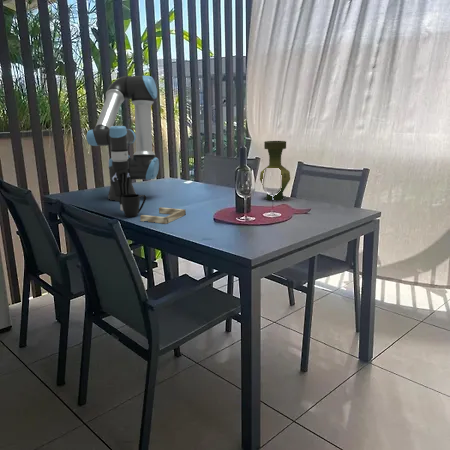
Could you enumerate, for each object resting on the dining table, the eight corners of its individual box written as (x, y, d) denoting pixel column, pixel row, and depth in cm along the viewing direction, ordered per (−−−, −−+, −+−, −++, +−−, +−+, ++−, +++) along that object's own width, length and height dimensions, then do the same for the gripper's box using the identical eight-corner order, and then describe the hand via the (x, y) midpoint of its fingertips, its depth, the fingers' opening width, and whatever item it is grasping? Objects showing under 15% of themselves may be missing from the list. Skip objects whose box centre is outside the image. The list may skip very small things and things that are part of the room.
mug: (150, 214, 210) (150, 195, 207) (127, 218, 203) (126, 198, 200) (141, 211, 216) (141, 191, 213) (119, 214, 209) (118, 195, 206)
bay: (140, 221, 198) (140, 215, 198) (160, 212, 213) (160, 207, 213) (166, 223, 193) (166, 218, 192) (185, 214, 208) (185, 209, 207)
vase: (294, 196, 241) (295, 140, 233) (285, 203, 227) (286, 143, 219) (265, 194, 248) (265, 140, 240) (254, 200, 234) (254, 142, 226)
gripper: (118, 162, 198) (121, 214, 204) (135, 159, 209) (138, 208, 215) (104, 161, 201) (108, 212, 207) (122, 158, 212) (125, 207, 218)
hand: (123, 210), depth 211 cm, fingers closed
